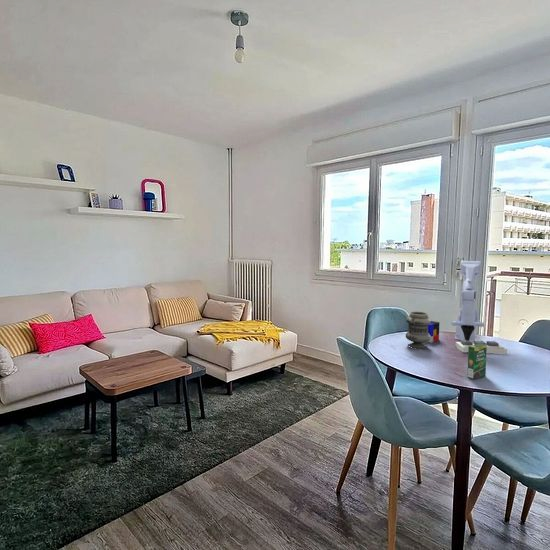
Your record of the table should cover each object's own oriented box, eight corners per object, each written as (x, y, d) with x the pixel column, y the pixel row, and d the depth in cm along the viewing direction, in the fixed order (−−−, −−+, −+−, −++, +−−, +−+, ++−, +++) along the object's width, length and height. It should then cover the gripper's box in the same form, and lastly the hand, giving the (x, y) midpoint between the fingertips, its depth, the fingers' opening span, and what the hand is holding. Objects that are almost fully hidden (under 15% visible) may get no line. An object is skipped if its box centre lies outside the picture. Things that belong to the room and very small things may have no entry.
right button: (489, 348, 176) (490, 343, 176) (486, 345, 180) (486, 341, 180) (498, 348, 175) (498, 343, 175) (494, 346, 179) (495, 341, 179)
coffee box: (473, 380, 138) (474, 347, 137) (466, 377, 141) (467, 345, 140) (486, 376, 142) (487, 344, 141) (479, 374, 144) (480, 342, 143)
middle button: (476, 347, 177) (477, 342, 177) (473, 345, 181) (473, 340, 181) (485, 347, 176) (485, 343, 176) (482, 345, 180) (482, 340, 180)
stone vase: (410, 350, 178) (411, 315, 176) (401, 343, 190) (402, 310, 188) (434, 350, 178) (435, 314, 176) (423, 343, 190) (425, 310, 188)
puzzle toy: (430, 343, 191) (430, 324, 191) (412, 339, 199) (413, 321, 198) (438, 339, 198) (439, 322, 197) (421, 336, 205) (422, 319, 205)
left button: (463, 347, 178) (464, 342, 178) (461, 344, 182) (461, 340, 182) (472, 347, 177) (472, 342, 177) (469, 345, 181) (469, 340, 181)
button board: (462, 352, 174) (462, 346, 174) (455, 346, 184) (455, 341, 184) (506, 354, 171) (507, 348, 171) (497, 348, 181) (497, 342, 181)
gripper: (455, 314, 176) (454, 341, 177) (487, 315, 173) (485, 342, 174) (450, 312, 182) (449, 338, 184) (481, 312, 180) (479, 339, 181)
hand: (466, 340), depth 179 cm, fingers closed
